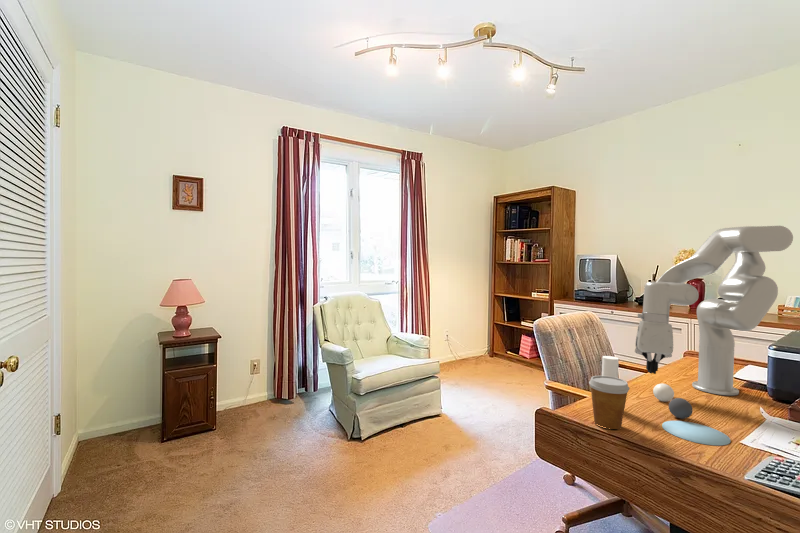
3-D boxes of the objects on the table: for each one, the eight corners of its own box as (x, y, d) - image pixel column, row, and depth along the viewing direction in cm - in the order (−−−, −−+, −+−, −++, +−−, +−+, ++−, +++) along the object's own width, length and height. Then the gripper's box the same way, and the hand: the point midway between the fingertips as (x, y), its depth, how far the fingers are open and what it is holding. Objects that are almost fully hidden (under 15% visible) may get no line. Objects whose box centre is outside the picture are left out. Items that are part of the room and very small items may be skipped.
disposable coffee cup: (621, 420, 107) (622, 376, 107) (633, 435, 98) (635, 387, 98) (583, 416, 109) (585, 373, 109) (592, 430, 100) (594, 384, 100)
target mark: (676, 417, 110) (676, 416, 110) (739, 437, 98) (739, 436, 98) (651, 428, 102) (651, 427, 102) (716, 450, 91) (716, 449, 91)
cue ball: (658, 397, 127) (658, 380, 127) (677, 402, 122) (677, 385, 122) (649, 399, 124) (650, 382, 124) (668, 405, 119) (669, 387, 119)
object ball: (673, 412, 114) (674, 393, 113) (695, 419, 109) (696, 399, 109) (664, 416, 111) (665, 397, 111) (686, 423, 106) (687, 403, 106)
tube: (619, 410, 114) (620, 359, 114) (603, 409, 115) (604, 358, 115) (614, 405, 118) (615, 356, 118) (598, 404, 119) (600, 355, 119)
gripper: (633, 317, 130) (629, 372, 131) (685, 322, 126) (681, 379, 126) (627, 315, 138) (624, 367, 138) (677, 319, 133) (673, 373, 133)
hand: (651, 372), depth 132 cm, fingers closed
